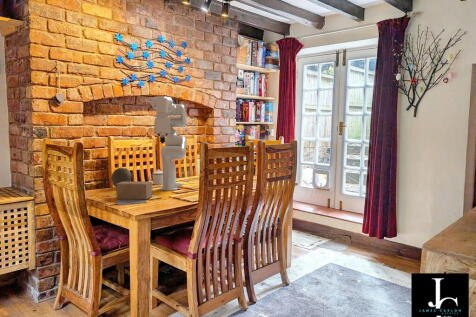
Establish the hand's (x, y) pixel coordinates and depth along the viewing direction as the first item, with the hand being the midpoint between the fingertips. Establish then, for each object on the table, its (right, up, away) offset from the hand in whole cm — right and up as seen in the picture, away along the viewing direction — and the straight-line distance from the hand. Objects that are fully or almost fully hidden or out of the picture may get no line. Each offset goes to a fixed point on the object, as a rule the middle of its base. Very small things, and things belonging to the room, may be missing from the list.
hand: (162, 143), depth 236 cm
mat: (-16, -37, -15) cm, 43 cm away
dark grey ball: (-37, -32, +30) cm, 57 cm away
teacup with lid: (-14, -30, +46) cm, 57 cm away
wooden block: (-7, -31, -7) cm, 32 cm away
